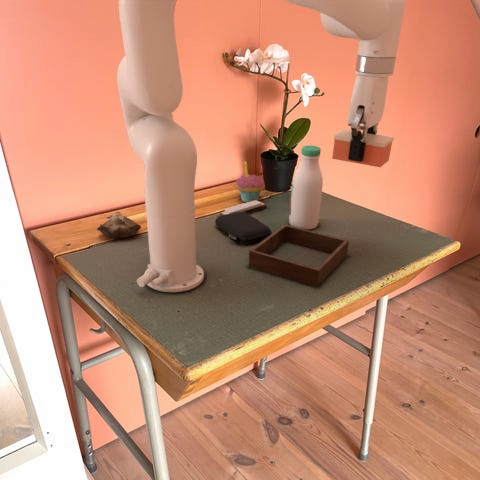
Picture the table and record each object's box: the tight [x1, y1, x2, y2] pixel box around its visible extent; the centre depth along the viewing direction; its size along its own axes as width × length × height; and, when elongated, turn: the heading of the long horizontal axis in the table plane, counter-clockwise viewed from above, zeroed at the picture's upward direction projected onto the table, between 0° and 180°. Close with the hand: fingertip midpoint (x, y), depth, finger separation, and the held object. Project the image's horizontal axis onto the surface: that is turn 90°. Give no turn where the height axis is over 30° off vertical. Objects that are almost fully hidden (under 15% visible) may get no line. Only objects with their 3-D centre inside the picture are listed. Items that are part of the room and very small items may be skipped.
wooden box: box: [248, 224, 350, 288], centre depth 113 cm, size 18×17×4 cm
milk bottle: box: [288, 144, 324, 230], centre depth 126 cm, size 8×8×20 cm
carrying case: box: [214, 211, 273, 245], centre depth 125 cm, size 11×3×15 cm
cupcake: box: [235, 158, 266, 203], centre depth 143 cm, size 9×8×12 cm
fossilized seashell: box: [96, 211, 142, 239], centre depth 122 cm, size 8×7×10 cm
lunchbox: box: [331, 129, 394, 168], centre depth 108 cm, size 6×11×5 cm, turn 59°
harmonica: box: [219, 200, 267, 216], centre depth 137 cm, size 15×3×2 cm, turn 131°
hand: (360, 156), depth 109 cm, fingers closed on lunchbox, 6 cm apart
